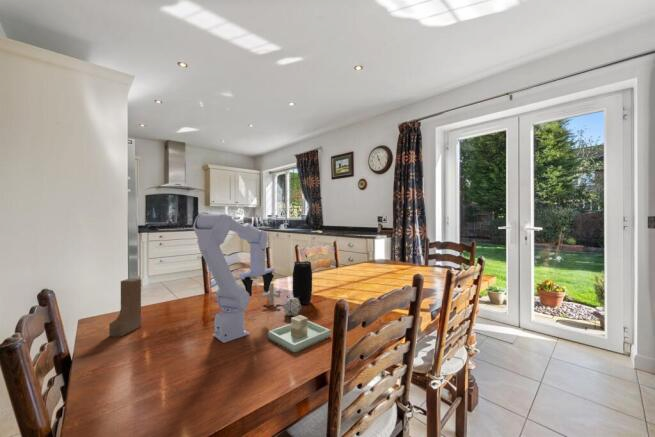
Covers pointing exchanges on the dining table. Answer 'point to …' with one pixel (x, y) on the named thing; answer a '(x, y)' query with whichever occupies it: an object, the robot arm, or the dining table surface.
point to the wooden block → (128, 309)
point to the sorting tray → (294, 344)
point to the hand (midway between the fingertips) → (257, 293)
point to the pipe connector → (271, 293)
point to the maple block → (299, 326)
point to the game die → (292, 306)
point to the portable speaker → (302, 281)
